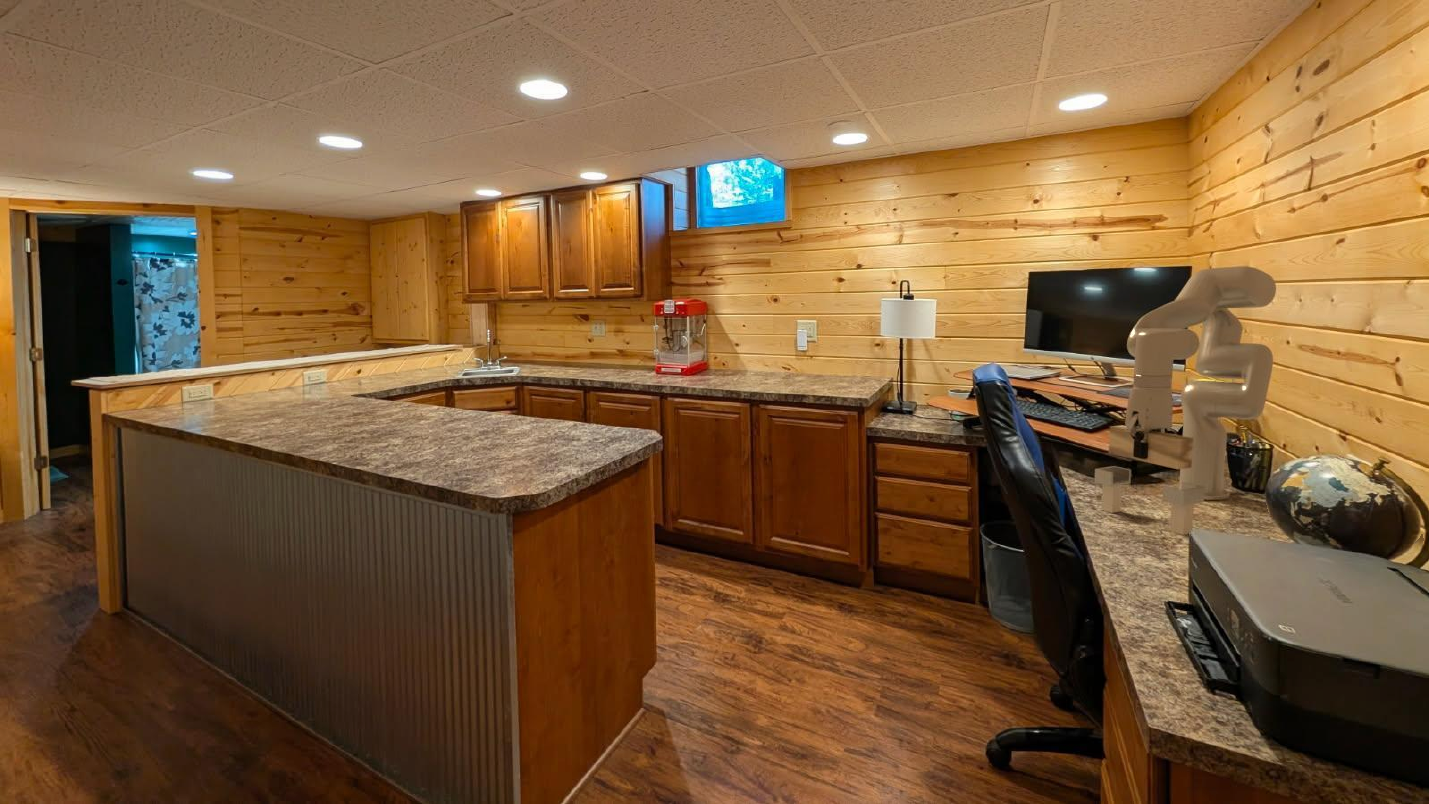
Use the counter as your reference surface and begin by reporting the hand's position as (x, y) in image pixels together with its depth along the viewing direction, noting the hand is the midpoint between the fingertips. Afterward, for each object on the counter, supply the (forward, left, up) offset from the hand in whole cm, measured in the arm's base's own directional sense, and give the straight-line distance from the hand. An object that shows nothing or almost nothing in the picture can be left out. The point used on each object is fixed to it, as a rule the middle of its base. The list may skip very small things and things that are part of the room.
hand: (1147, 456), depth 150 cm
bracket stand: (0, 0, -16) cm, 16 cm away
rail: (0, 0, -1) cm, 1 cm away
